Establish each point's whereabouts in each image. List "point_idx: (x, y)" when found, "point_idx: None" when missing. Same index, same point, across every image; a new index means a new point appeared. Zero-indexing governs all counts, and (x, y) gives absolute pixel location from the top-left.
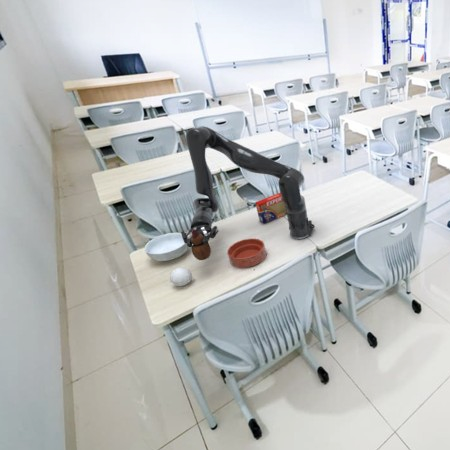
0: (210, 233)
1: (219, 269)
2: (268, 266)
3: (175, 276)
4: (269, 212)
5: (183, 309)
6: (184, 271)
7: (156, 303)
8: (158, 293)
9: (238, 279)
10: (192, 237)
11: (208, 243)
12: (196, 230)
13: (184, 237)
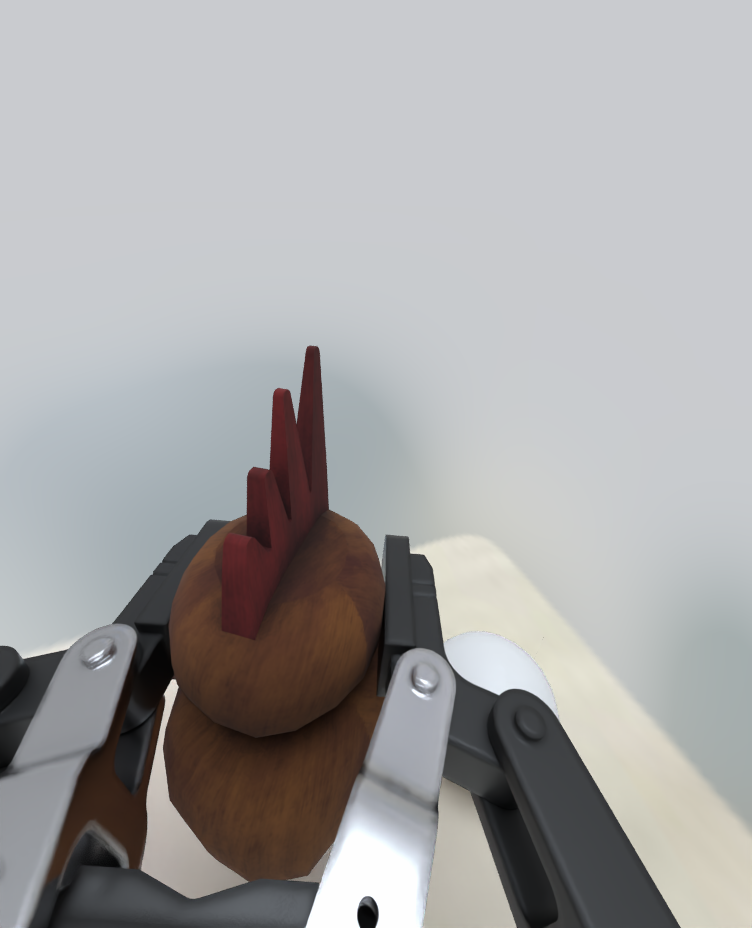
0: (4, 658)
1: None
2: None
3: (500, 636)
4: None
5: (419, 547)
6: (454, 657)
7: (545, 614)
8: (586, 692)
9: None
10: (341, 525)
11: (175, 701)
12: (226, 549)
13: (516, 705)
